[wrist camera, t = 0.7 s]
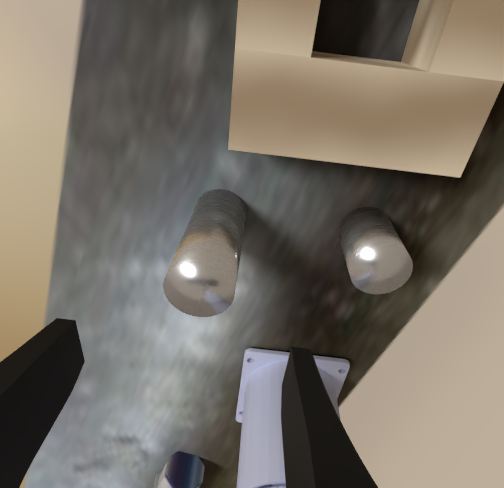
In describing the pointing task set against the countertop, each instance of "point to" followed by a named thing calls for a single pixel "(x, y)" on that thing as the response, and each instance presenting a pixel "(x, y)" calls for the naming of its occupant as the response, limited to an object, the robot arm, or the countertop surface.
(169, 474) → the white and blue bar
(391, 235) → the short steel pin
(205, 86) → the countertop surface
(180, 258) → the long steel pin
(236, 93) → the birch board
